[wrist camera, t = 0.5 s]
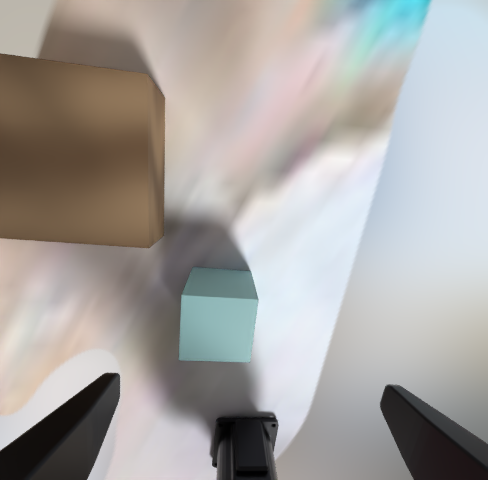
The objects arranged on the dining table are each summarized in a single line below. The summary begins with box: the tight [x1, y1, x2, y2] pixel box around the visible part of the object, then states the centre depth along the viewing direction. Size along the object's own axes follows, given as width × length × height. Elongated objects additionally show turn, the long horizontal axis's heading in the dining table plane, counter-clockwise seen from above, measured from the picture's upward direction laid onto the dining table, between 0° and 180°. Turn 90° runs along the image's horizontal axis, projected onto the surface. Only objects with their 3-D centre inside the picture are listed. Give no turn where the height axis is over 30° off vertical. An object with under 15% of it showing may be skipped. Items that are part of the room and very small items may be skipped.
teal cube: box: [179, 267, 258, 363], centre depth 18 cm, size 5×5×5 cm
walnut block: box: [0, 54, 165, 248], centre depth 15 cm, size 10×10×4 cm
